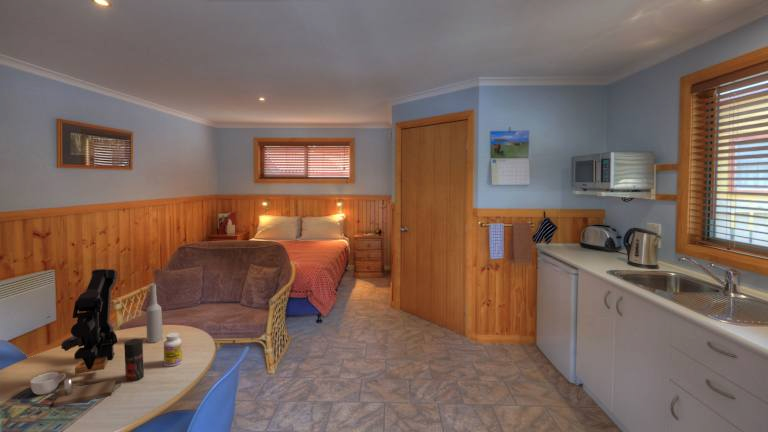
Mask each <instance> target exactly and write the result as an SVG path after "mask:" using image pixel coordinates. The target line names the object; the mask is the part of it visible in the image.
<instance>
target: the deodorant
mask: <svg viewBox="0 0 768 432" xmlns="http://www.w3.org/2000/svg"><path fill="white" fill-rule="evenodd" d="M123 348H124V365H125V366H124V368H125V369H124V370H125V381H126V382H127V383H134V382H138V381H140V380H141V379H143V378H144V377H145V376H144V374H145V373H144V372H145V371H144V346H143V339H142V338H132V339H129V340H127V341H124V347H123Z"/></svg>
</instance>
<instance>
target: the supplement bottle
mask: <svg viewBox="0 0 768 432" xmlns="http://www.w3.org/2000/svg"><path fill="white" fill-rule="evenodd" d="M179 336H180V334H179V332H170V333H168V334H166V337H165V338H166V340H165V341H164V343H163V361H164V363H163V364H164V366H165V367H169V368H170V367H176V366H178V365H180V364H181V363H182V361H183V352H182V349H183V347H182V342H183V341H182V339H181V338H180V337H179Z"/></svg>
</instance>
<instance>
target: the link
mask: <svg viewBox="0 0 768 432" xmlns="http://www.w3.org/2000/svg"><path fill="white" fill-rule="evenodd" d="M107 364H108V360H107V357H102V358H96V359H95V361H94V364H93V366H92V369H90V370H88V369H87V367H86V364H85V362H84V360H79V361H78V363H77V364H76V366H75V367H74V371H75V373H74V374H75V375H79V374H85V373H90V372H96V371H102V370H105V369H106V366H107Z"/></svg>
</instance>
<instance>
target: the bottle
mask: <svg viewBox="0 0 768 432" xmlns="http://www.w3.org/2000/svg"><path fill="white" fill-rule="evenodd" d="M149 289H150V290H149V292H150V293H149V295H150V296H149V298H150V300H149V305H148V306H147V307H146V310H145V313H146V314H145V315H146V317H145V319H146V343H147V344H155V343H154V342H156V343H159V342H158V341H160V340H161V341H163V340H162V339H164V337H163V334H164V333H163V316H162V315H163V314H162V312H163V311H162V306H161V305H160V304H158V298H157V284H156V283H151V284H149ZM161 341H160V342H161Z"/></svg>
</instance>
